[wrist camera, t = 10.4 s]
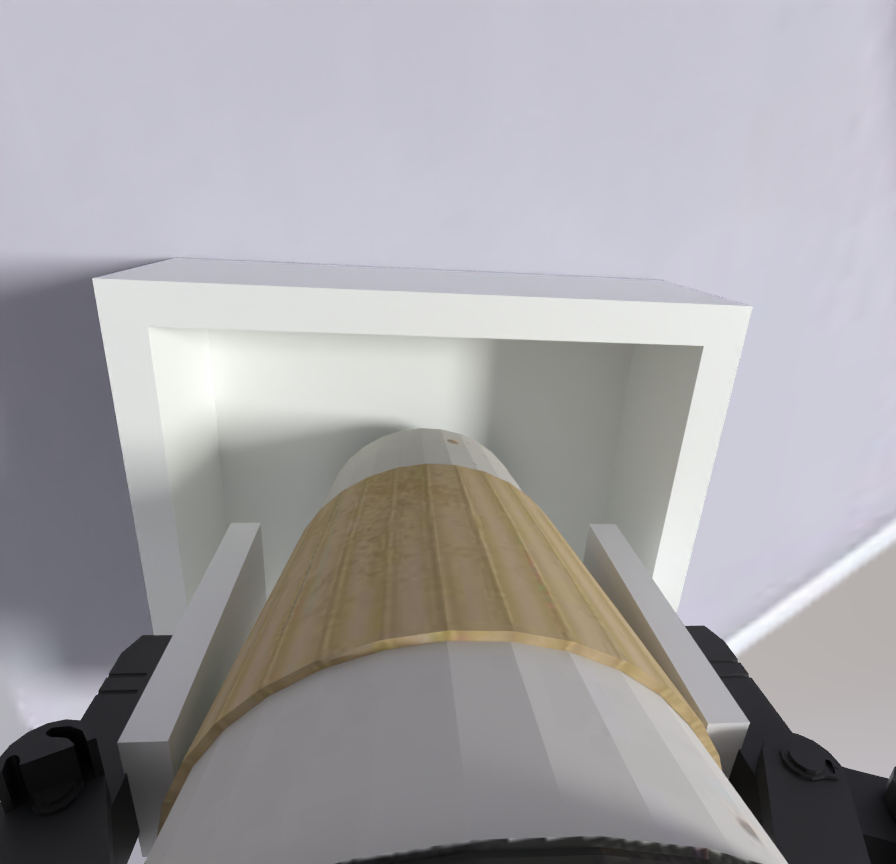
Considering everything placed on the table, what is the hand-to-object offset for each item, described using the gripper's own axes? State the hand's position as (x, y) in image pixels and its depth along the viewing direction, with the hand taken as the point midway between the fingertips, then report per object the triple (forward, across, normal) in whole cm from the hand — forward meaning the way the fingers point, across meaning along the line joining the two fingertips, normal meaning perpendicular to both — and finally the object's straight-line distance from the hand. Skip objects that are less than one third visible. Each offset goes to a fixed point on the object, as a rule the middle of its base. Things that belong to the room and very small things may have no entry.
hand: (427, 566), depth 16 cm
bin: (+5, 0, 0) cm, 5 cm away
